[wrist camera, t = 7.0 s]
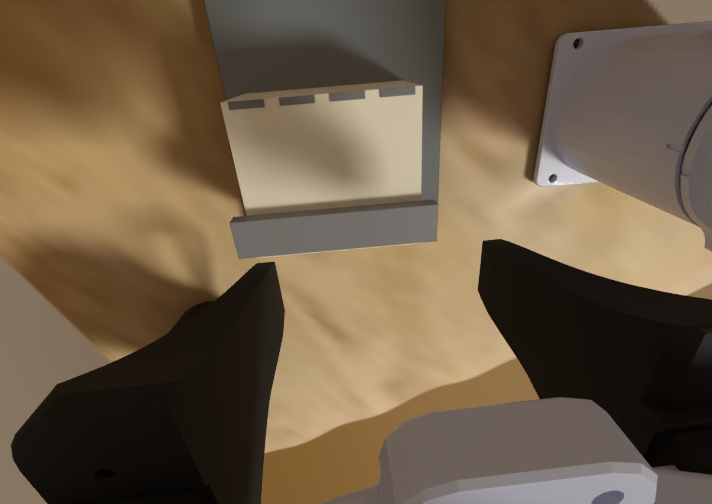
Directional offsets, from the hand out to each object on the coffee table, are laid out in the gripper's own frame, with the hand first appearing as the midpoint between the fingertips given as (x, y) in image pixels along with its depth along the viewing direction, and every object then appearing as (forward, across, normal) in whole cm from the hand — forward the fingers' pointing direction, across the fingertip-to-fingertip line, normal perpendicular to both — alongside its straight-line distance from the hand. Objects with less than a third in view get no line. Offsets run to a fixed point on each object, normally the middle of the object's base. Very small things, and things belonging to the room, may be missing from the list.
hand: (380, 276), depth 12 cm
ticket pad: (+9, +1, -2) cm, 10 cm away
